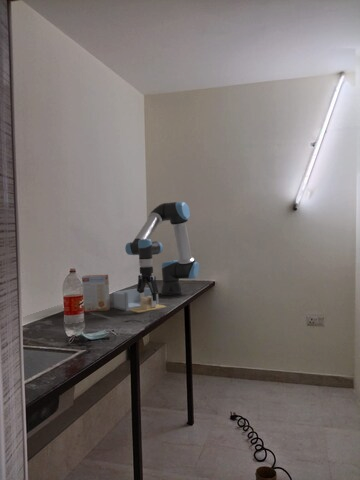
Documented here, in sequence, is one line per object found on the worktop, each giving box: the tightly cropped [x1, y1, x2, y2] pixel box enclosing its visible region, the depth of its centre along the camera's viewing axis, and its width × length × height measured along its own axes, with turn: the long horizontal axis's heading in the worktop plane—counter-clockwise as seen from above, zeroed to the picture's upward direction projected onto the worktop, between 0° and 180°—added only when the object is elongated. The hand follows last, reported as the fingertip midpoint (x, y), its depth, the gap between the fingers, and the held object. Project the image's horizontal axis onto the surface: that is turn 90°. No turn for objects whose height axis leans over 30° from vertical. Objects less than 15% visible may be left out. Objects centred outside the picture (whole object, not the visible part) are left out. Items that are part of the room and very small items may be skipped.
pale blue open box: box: [112, 287, 160, 312], centre depth 230 cm, size 22×15×11 cm
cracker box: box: [81, 274, 111, 313], centre depth 225 cm, size 14×6×21 cm, turn 79°
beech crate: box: [140, 296, 156, 309], centre depth 220 cm, size 6×7×6 cm
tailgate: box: [129, 304, 168, 314], centre depth 220 cm, size 19×1×10 cm
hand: (148, 305), depth 220 cm, fingers open, 10 cm apart
